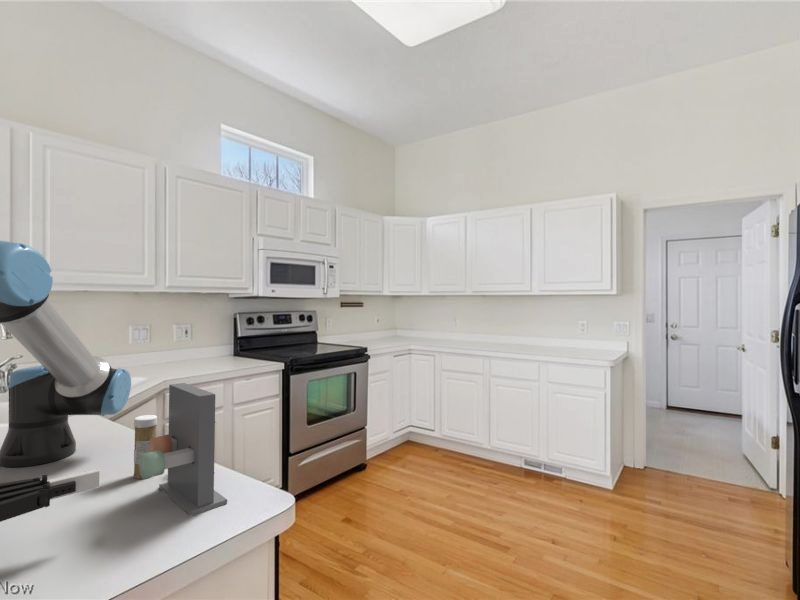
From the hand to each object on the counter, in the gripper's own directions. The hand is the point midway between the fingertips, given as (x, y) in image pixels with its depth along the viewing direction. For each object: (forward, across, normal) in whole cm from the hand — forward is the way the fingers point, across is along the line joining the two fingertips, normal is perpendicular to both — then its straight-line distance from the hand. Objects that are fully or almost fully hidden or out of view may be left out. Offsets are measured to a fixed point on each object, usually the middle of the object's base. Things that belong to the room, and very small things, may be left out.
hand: (98, 478), depth 73 cm
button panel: (+17, -5, -10) cm, 20 cm away
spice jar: (+14, -23, -10) cm, 28 cm away
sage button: (+13, 0, -2) cm, 13 cm away
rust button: (+17, -9, -2) cm, 19 cm away
